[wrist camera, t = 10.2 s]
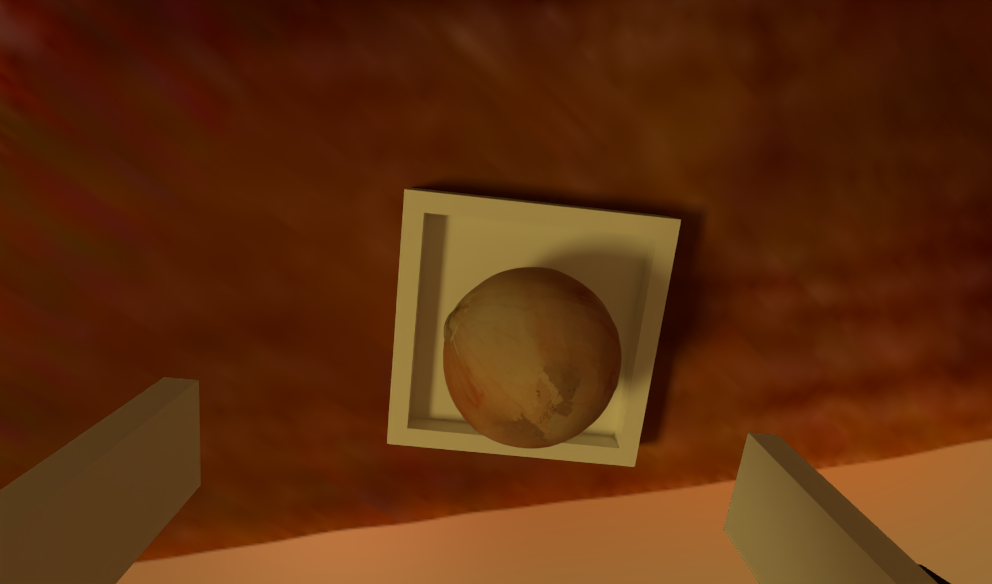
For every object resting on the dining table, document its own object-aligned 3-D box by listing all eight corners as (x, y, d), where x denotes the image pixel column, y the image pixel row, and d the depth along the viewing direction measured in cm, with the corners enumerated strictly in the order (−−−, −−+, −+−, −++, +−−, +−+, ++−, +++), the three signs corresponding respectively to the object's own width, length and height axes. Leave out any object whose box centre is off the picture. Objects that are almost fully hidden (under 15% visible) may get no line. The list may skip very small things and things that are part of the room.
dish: (393, 425, 36) (387, 443, 34) (410, 187, 33) (404, 189, 30) (625, 447, 37) (634, 466, 34) (667, 215, 33) (681, 219, 31)
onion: (472, 232, 32) (465, 260, 22) (625, 281, 33) (681, 329, 23) (427, 374, 34) (402, 456, 25) (572, 418, 35) (603, 514, 25)
